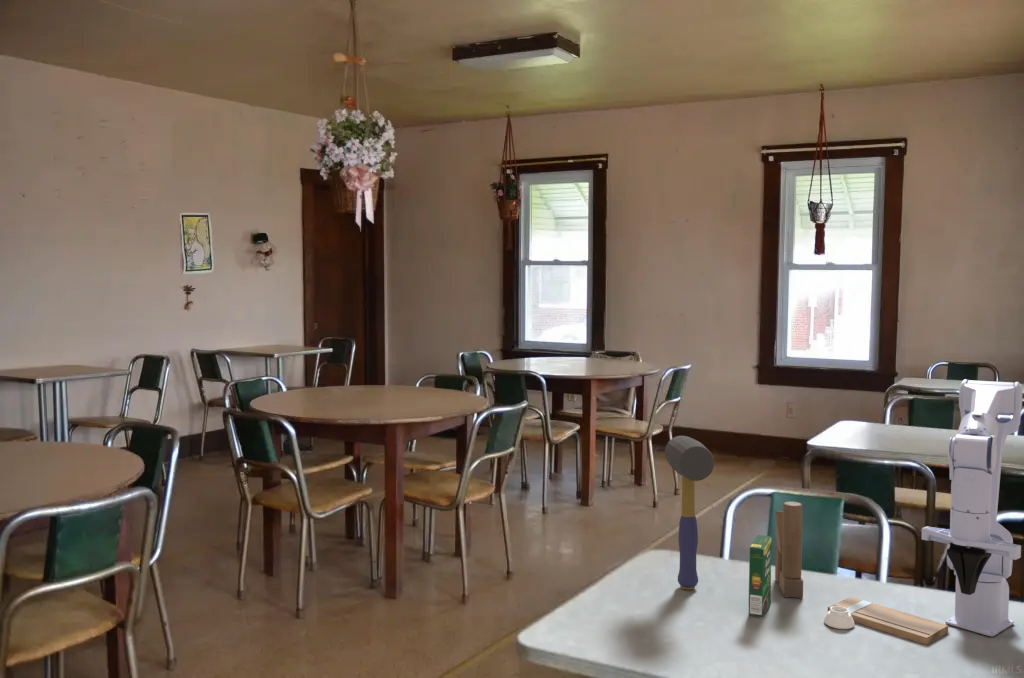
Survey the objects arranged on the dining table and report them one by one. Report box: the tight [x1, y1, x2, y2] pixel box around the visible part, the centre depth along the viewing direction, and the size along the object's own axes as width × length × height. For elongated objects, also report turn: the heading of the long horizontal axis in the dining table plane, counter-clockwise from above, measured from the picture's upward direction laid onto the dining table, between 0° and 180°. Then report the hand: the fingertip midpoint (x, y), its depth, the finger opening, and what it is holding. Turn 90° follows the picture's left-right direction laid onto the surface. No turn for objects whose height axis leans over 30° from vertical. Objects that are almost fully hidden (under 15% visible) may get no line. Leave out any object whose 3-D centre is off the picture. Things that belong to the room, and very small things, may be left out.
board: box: [827, 596, 949, 645], centre depth 154 cm, size 8×18×1 cm, turn 40°
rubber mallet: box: [664, 435, 715, 591], centre depth 171 cm, size 12×8×30 cm, turn 4°
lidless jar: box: [823, 606, 855, 630], centre depth 153 cm, size 5×3×5 cm
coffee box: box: [748, 534, 773, 619], centre depth 160 cm, size 8×3×13 cm, turn 153°
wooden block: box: [774, 501, 804, 599], centre depth 171 cm, size 4×11×18 cm, turn 172°
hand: (967, 592), depth 140 cm, fingers closed
